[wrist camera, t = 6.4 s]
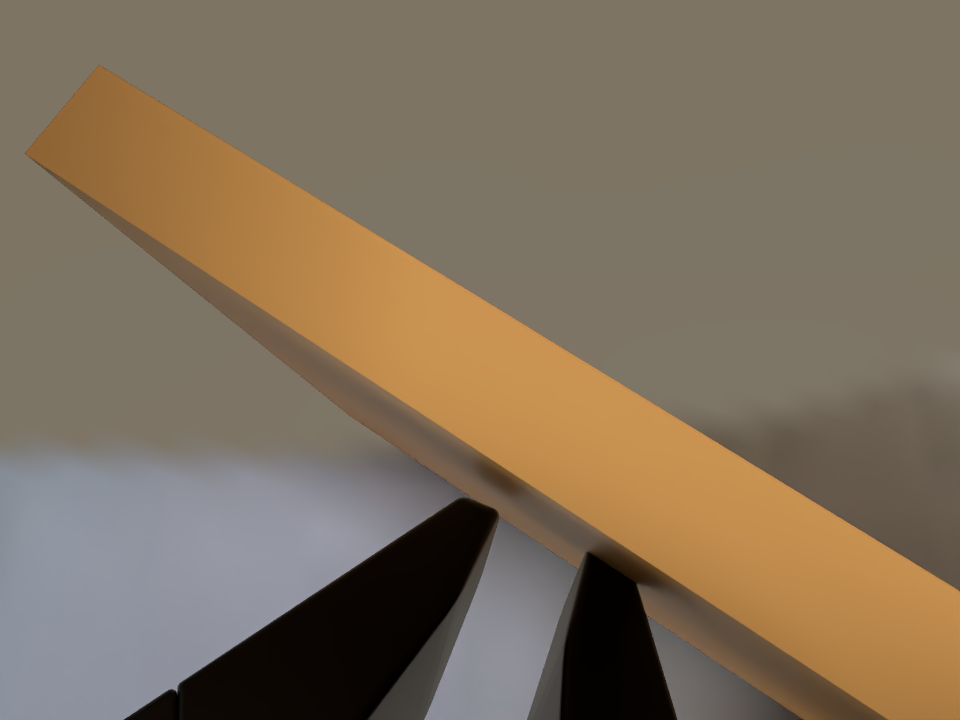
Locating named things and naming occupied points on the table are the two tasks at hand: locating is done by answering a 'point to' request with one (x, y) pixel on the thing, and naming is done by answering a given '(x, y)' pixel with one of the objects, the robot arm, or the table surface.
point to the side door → (523, 421)
